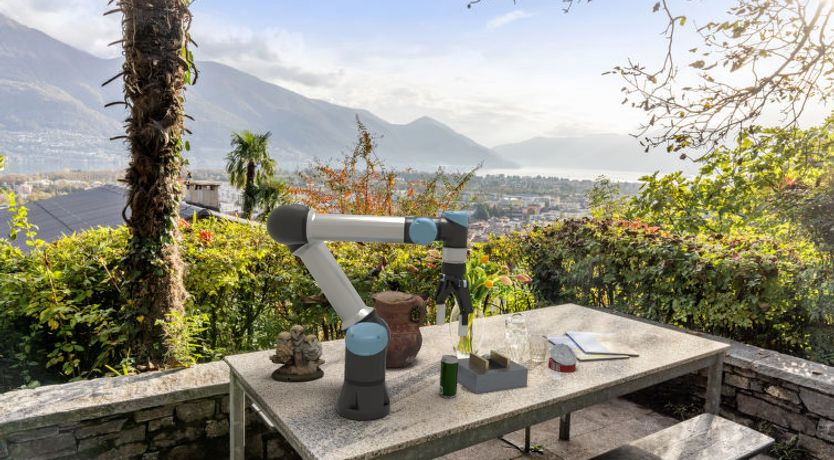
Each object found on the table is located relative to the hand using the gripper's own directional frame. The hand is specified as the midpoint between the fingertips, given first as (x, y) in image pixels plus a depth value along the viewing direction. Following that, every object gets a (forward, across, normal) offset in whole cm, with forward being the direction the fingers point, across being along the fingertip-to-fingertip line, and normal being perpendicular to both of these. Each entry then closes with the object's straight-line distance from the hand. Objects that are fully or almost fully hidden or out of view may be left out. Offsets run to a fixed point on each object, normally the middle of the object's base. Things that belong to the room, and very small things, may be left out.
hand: (451, 330), depth 152 cm
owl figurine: (+20, +31, +40) cm, 55 cm away
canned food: (+21, +9, -54) cm, 59 cm away
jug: (+21, +35, +4) cm, 41 cm away
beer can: (+21, 0, 0) cm, 21 cm away
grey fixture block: (+21, +7, -20) cm, 30 cm away
